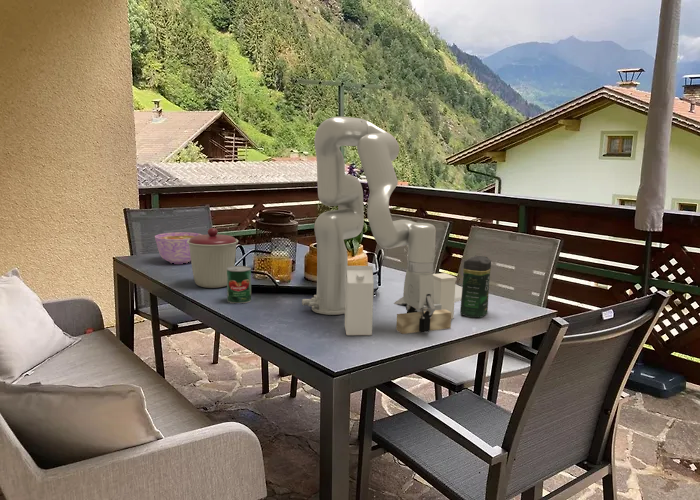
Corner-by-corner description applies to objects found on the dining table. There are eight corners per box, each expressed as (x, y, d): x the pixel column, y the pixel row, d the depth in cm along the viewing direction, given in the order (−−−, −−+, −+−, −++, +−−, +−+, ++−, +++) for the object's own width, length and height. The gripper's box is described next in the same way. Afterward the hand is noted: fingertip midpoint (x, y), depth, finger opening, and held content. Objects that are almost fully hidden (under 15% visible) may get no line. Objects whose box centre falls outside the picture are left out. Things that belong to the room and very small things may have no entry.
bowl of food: (160, 257, 264) (159, 232, 262) (206, 257, 266) (206, 232, 264) (150, 267, 245) (149, 239, 243) (200, 267, 247) (199, 239, 245)
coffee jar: (482, 320, 182) (486, 260, 178) (457, 316, 185) (460, 257, 182) (490, 312, 190) (494, 255, 187) (466, 308, 194) (470, 252, 191)
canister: (180, 283, 219) (178, 226, 215) (224, 277, 230) (224, 223, 226) (201, 293, 205) (199, 233, 201) (247, 286, 216) (247, 229, 212)
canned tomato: (245, 296, 203) (244, 264, 201) (255, 301, 196) (255, 269, 194) (223, 299, 198) (222, 267, 196) (233, 305, 192) (232, 271, 190)
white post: (423, 322, 178) (425, 280, 175) (411, 316, 184) (413, 275, 182) (455, 319, 182) (457, 277, 180) (442, 312, 189) (444, 272, 186)
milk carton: (344, 327, 171) (346, 263, 168) (369, 327, 172) (371, 263, 168) (346, 335, 164) (348, 268, 161) (372, 335, 165) (374, 268, 161)
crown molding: (421, 312, 190) (421, 302, 189) (392, 305, 198) (393, 294, 198) (473, 298, 210) (474, 288, 209) (445, 291, 218) (446, 282, 218)
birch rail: (402, 334, 167) (402, 317, 166) (396, 330, 170) (396, 314, 169) (450, 328, 173) (451, 312, 172) (444, 325, 176) (445, 309, 175)
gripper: (394, 261, 174) (392, 320, 177) (424, 274, 158) (421, 338, 161) (416, 260, 177) (414, 318, 180) (448, 272, 161) (445, 335, 164)
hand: (417, 327), depth 171 cm, fingers open, 6 cm apart
